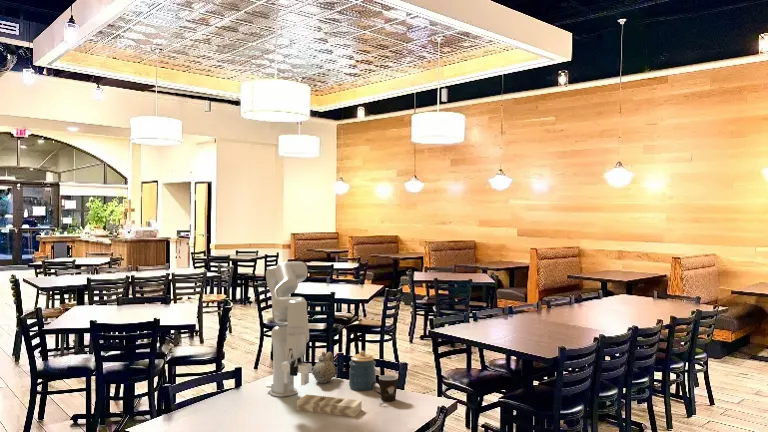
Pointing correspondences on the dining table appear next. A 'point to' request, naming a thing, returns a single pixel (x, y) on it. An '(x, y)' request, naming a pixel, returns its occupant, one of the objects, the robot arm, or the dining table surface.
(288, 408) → the dining table surface
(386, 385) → the coffee mug
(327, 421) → the dining table surface
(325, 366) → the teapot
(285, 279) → the robot arm
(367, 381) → the canister
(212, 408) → the dining table surface
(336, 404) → the rail
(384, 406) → the dining table surface
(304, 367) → the grey arched block
